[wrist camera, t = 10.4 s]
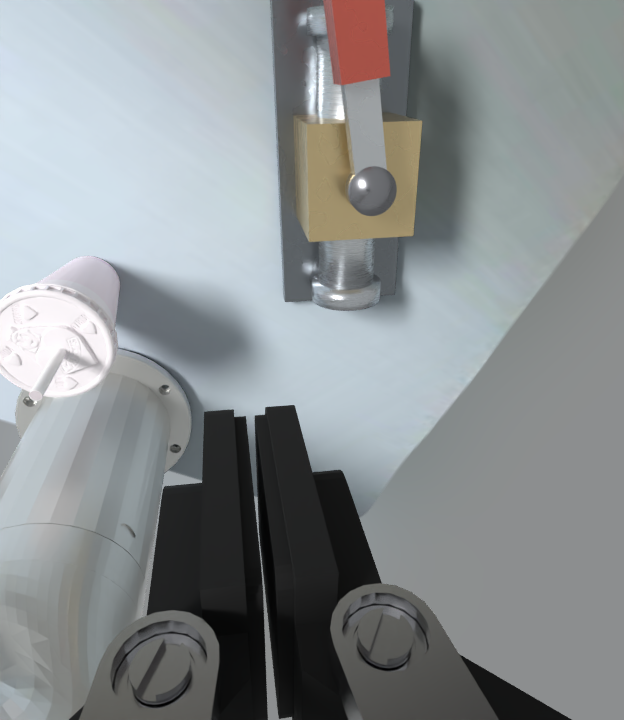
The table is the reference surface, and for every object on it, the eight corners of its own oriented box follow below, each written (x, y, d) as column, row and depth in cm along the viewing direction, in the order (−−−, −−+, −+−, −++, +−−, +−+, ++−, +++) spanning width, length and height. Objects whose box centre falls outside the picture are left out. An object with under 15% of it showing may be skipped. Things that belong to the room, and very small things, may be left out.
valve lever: (392, 205, 28) (403, 214, 26) (348, 214, 28) (356, 224, 26) (369, -57, 22) (381, -67, 21) (314, -47, 22) (322, -57, 21)
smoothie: (123, 338, 38) (75, 464, 26) (29, 304, 36) (-71, 425, 24) (153, 259, 36) (116, 357, 23) (54, 219, 34) (-43, 304, 21)
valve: (391, 289, 39) (425, 335, 32) (283, 296, 38) (296, 345, 31) (408, -4, 30) (461, -25, 24) (270, -4, 30) (283, -25, 23)
